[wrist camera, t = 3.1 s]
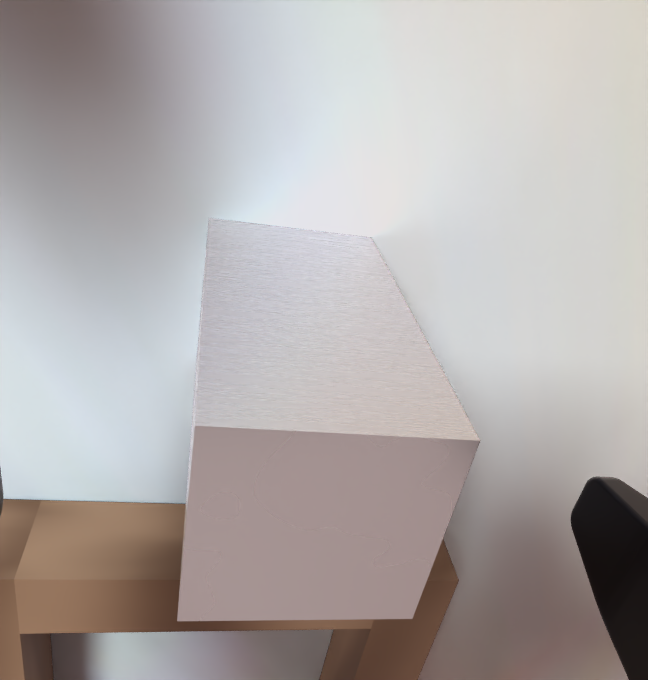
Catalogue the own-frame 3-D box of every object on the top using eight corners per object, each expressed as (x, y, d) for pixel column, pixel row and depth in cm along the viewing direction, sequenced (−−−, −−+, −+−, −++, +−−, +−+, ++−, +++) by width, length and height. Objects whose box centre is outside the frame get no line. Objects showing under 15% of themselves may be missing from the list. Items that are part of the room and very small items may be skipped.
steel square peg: (371, 237, 14) (480, 440, 8) (341, 370, 16) (412, 619, 10) (208, 218, 13) (195, 425, 7) (196, 360, 15) (176, 621, 9)
